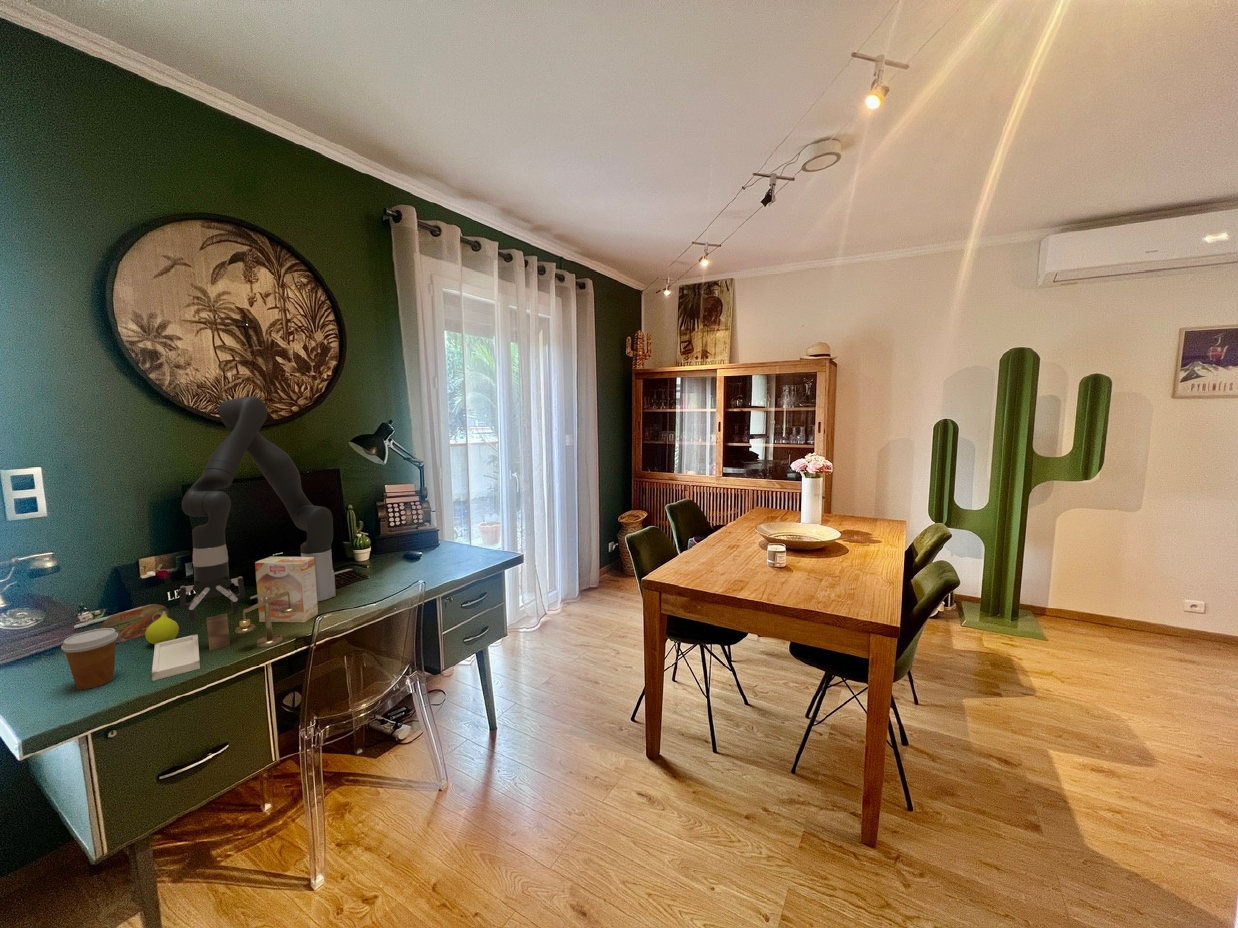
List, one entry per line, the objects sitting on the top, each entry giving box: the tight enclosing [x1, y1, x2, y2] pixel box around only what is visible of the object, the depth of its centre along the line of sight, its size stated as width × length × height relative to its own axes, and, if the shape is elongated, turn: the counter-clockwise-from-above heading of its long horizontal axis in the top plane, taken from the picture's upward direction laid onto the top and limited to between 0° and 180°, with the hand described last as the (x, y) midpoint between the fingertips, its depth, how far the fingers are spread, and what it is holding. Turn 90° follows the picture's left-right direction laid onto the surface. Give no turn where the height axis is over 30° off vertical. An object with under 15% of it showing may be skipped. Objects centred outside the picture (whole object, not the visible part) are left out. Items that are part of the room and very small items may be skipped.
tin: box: [100, 603, 171, 644], centre depth 147 cm, size 15×3×8 cm, turn 153°
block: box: [206, 613, 231, 651], centre depth 140 cm, size 4×4×8 cm
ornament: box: [144, 611, 180, 645], centre depth 141 cm, size 7×7×10 cm
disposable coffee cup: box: [60, 628, 118, 690], centre depth 121 cm, size 10×10×12 cm
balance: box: [234, 591, 299, 649], centre depth 141 cm, size 15×6×14 cm, turn 131°
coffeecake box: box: [254, 555, 319, 623], centre depth 158 cm, size 15×7×20 cm, turn 87°
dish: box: [151, 633, 201, 682], centre depth 133 cm, size 9×21×2 cm, turn 41°
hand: (214, 617), depth 140 cm, fingers open, 8 cm apart
